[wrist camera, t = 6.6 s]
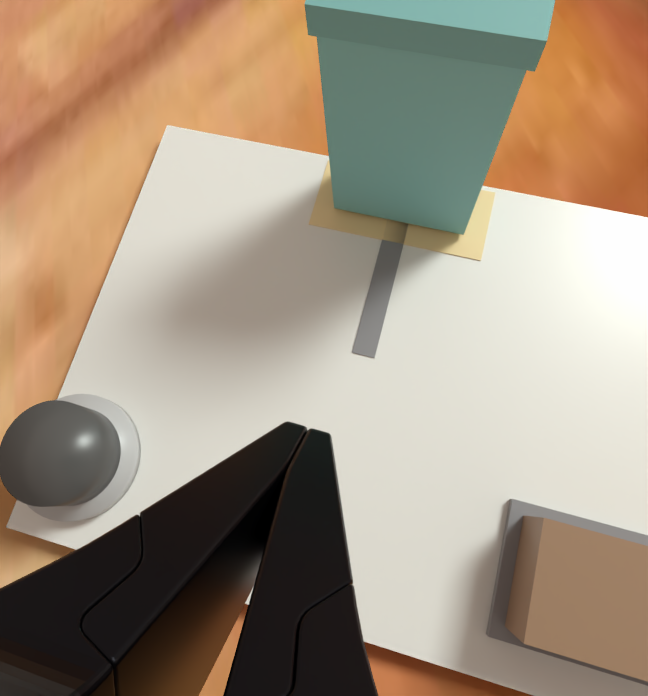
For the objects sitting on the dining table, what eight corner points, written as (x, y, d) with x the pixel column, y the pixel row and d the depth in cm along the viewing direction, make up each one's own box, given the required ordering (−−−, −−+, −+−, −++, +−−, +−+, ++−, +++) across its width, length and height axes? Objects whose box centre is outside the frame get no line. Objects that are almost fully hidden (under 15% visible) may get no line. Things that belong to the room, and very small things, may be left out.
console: (668, 732, 19) (735, 784, 16) (5, 522, 23) (-59, 526, 19) (715, 241, 24) (773, 198, 21) (162, 133, 28) (133, 81, 24)
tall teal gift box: (467, 238, 24) (547, 41, 13) (328, 209, 25) (304, 4, 14) (479, 184, 24) (563, -43, 14) (344, 158, 25) (331, -74, 15)
